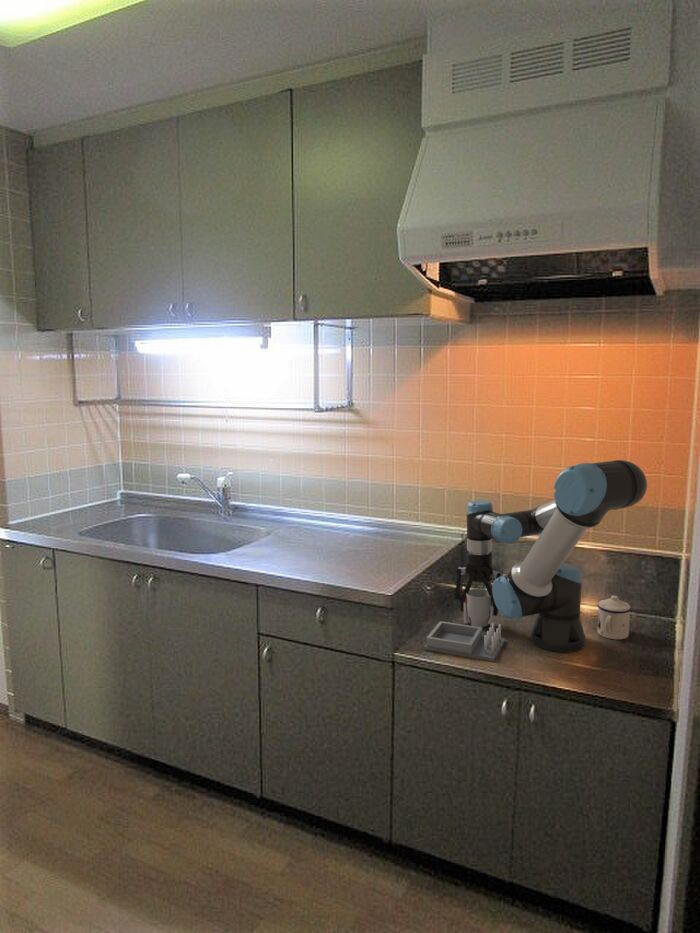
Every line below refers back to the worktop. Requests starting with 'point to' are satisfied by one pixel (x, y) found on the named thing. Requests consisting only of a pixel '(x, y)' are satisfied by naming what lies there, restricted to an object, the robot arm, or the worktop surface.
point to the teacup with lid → (613, 618)
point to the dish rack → (465, 641)
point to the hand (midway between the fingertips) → (479, 623)
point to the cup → (478, 607)
